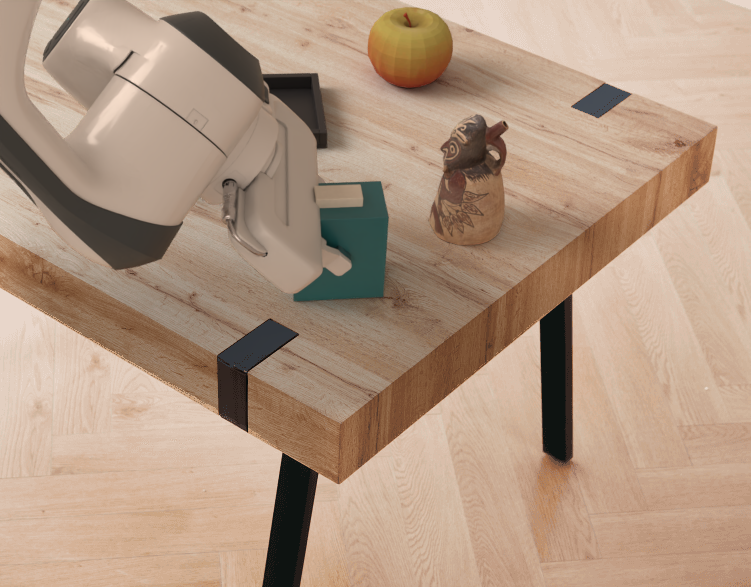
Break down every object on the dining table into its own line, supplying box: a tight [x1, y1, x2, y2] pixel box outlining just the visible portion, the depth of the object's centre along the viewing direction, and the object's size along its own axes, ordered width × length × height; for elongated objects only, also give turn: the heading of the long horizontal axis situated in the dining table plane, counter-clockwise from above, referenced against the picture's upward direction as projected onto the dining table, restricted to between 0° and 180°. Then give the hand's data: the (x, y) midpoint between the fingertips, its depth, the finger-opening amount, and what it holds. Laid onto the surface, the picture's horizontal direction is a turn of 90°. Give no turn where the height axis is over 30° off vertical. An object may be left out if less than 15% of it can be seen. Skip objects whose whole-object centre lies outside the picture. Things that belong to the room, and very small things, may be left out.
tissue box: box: [292, 180, 390, 302], centre depth 94 cm, size 5×8×10 cm, turn 97°
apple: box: [367, 6, 454, 89], centre depth 122 cm, size 10×10×8 cm
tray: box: [262, 72, 328, 149], centre depth 116 cm, size 9×12×2 cm
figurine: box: [427, 113, 509, 246], centre depth 100 cm, size 7×7×12 cm
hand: (344, 242), depth 94 cm, fingers closed on tissue box, 5 cm apart
